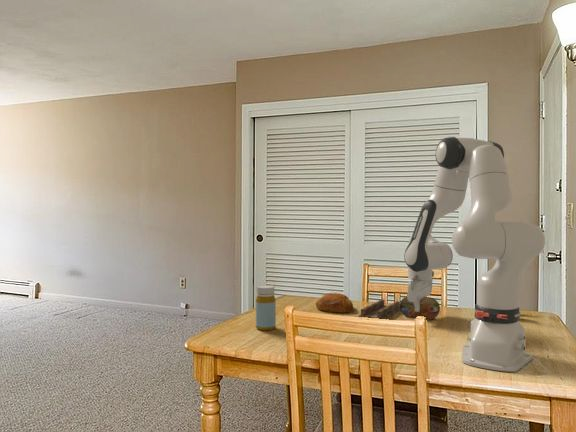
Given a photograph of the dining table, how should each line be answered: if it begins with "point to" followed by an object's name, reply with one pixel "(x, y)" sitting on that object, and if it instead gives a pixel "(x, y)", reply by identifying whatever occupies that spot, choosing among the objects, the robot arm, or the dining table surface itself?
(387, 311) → the rack
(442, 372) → the dining table surface
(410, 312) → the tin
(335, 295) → the round bread loaf
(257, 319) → the bottle
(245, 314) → the dining table surface
